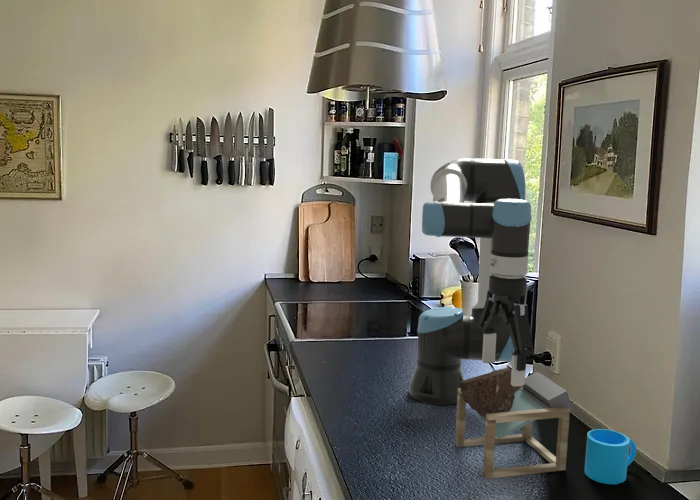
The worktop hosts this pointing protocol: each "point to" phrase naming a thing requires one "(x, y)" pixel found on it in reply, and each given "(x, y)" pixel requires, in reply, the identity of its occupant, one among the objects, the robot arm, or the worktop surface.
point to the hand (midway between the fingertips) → (502, 373)
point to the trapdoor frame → (515, 438)
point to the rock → (489, 392)
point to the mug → (608, 456)
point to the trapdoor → (532, 401)
